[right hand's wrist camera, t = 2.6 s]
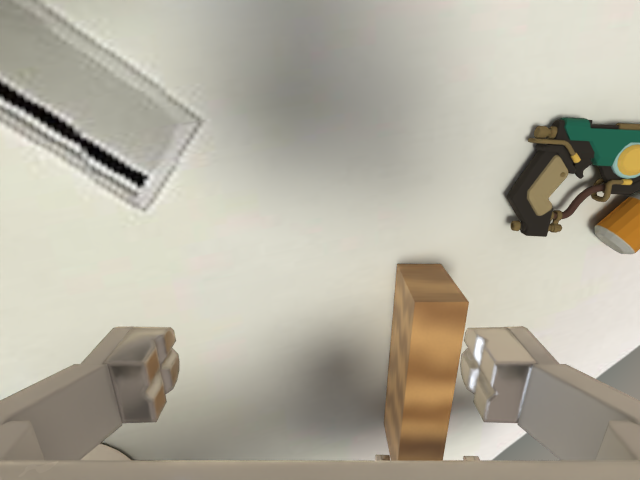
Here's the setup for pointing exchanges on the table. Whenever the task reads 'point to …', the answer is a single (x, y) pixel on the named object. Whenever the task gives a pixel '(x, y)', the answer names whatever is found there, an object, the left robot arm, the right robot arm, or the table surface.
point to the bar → (423, 361)
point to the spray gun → (573, 157)
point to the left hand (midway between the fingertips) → (425, 459)
